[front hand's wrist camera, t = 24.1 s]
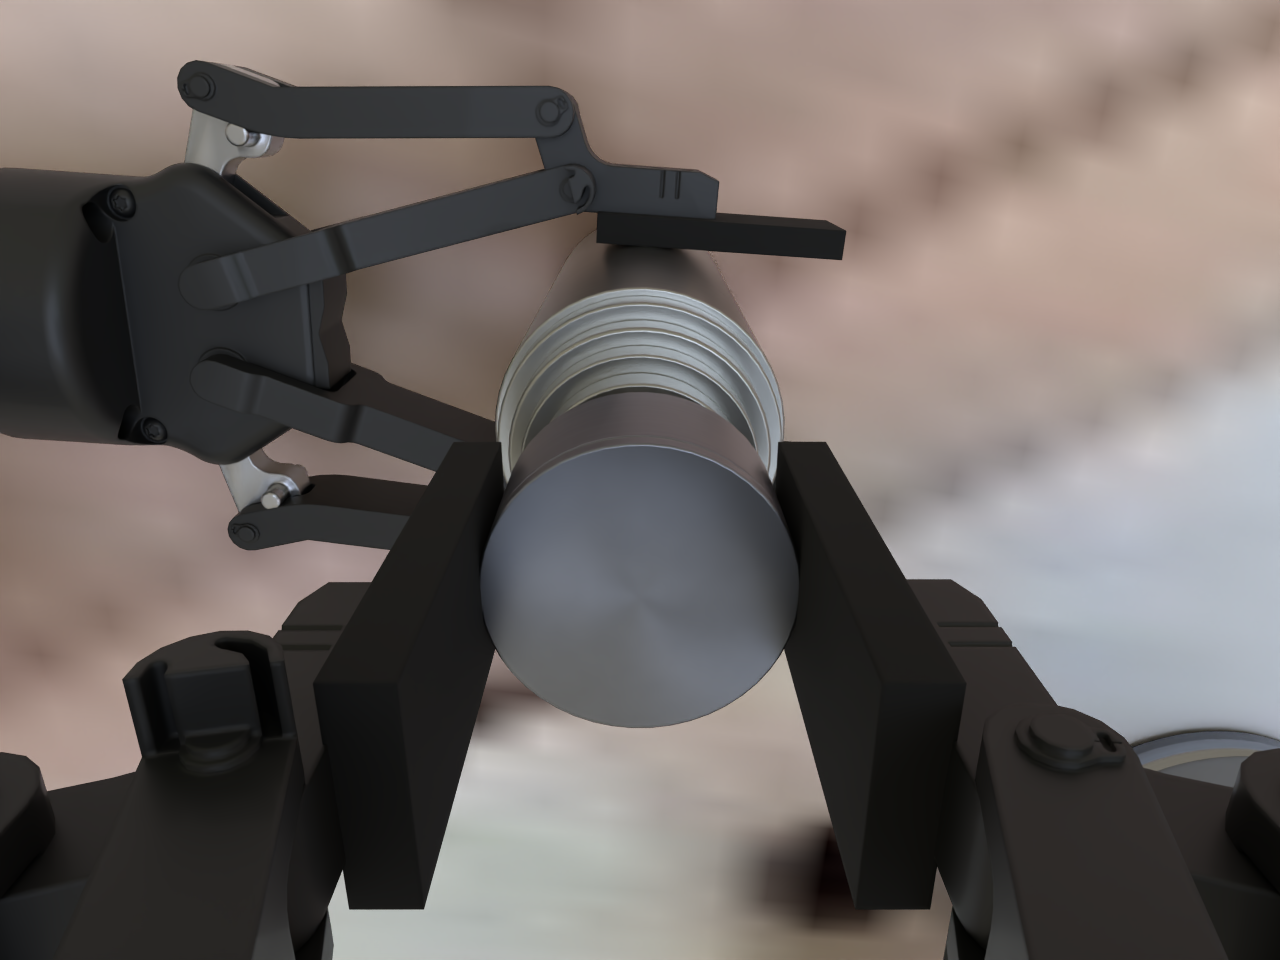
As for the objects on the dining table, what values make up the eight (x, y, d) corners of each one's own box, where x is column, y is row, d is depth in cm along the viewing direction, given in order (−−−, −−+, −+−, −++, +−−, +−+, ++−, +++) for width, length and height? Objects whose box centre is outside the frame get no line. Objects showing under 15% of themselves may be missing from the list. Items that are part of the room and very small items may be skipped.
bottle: (524, 331, 32) (359, 627, 13) (611, 181, 30) (564, 278, 11) (665, 417, 33) (698, 799, 14) (758, 278, 31) (935, 510, 13)
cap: (630, 684, 16) (628, 779, 13) (446, 512, 14) (410, 585, 12) (831, 531, 14) (867, 606, 12) (650, 331, 13) (652, 373, 11)
